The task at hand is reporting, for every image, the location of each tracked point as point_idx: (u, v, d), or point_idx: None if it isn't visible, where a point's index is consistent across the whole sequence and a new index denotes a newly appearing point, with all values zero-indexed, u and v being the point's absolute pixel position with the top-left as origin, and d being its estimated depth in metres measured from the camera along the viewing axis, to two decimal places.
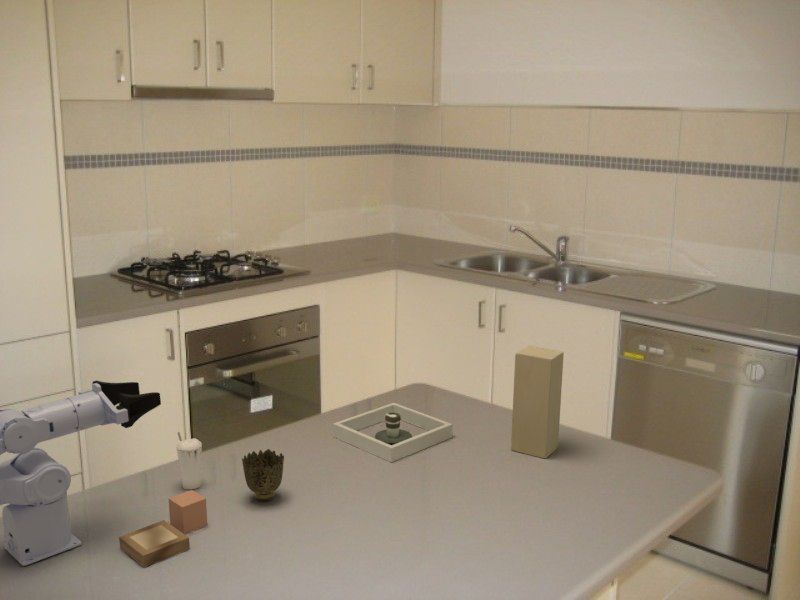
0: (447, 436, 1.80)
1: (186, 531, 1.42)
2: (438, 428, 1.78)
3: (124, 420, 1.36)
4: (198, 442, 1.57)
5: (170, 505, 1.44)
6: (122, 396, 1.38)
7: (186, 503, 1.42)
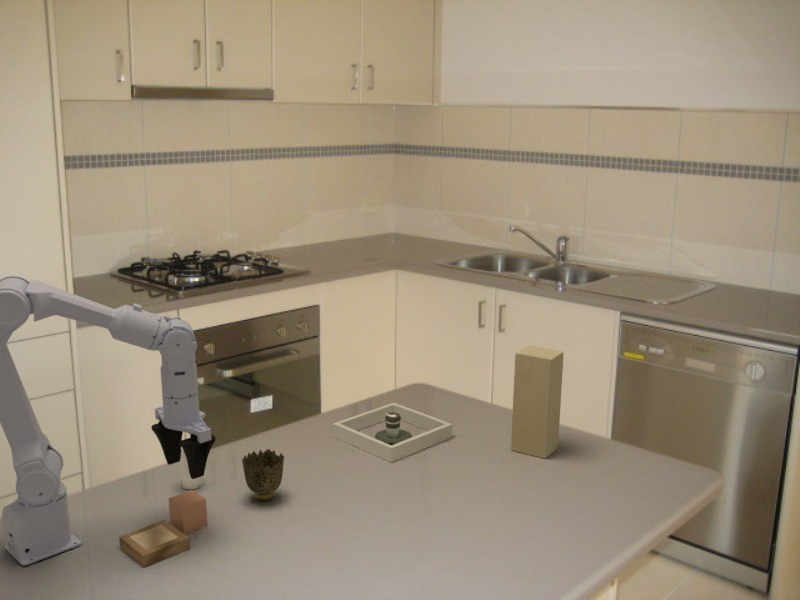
0: (447, 436, 1.80)
1: (186, 531, 1.42)
2: (438, 428, 1.78)
3: (202, 438, 1.35)
4: None
5: (170, 505, 1.44)
6: (212, 435, 1.39)
7: (186, 503, 1.42)
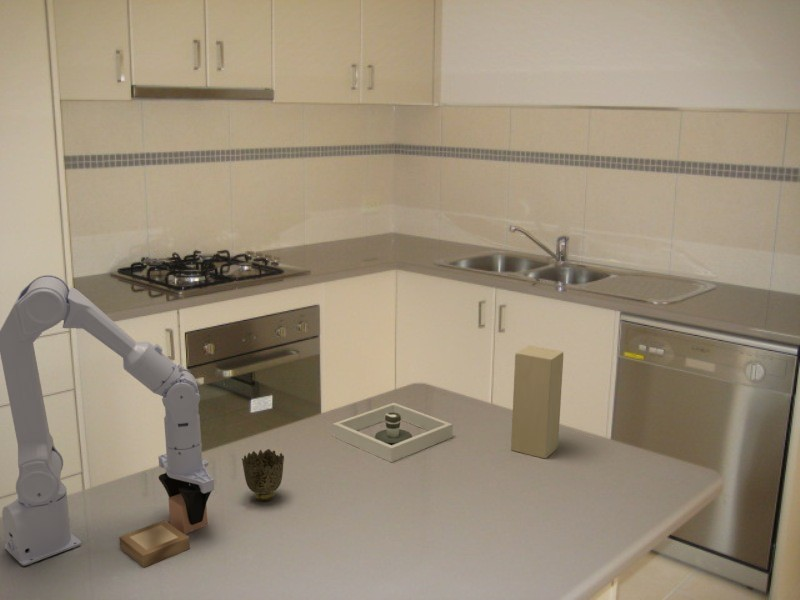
0: (447, 436, 1.80)
1: (186, 531, 1.42)
2: (438, 428, 1.78)
3: (205, 489, 1.37)
4: None
5: (170, 505, 1.44)
6: None
7: None
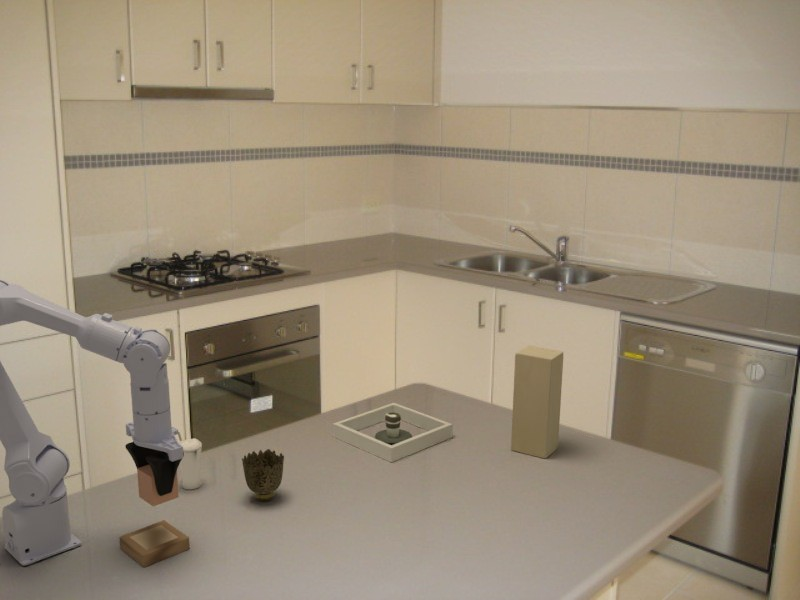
0: (447, 436, 1.80)
1: (155, 503, 1.34)
2: (438, 428, 1.78)
3: (173, 456, 1.29)
4: (198, 442, 1.57)
5: (139, 476, 1.36)
6: None
7: None
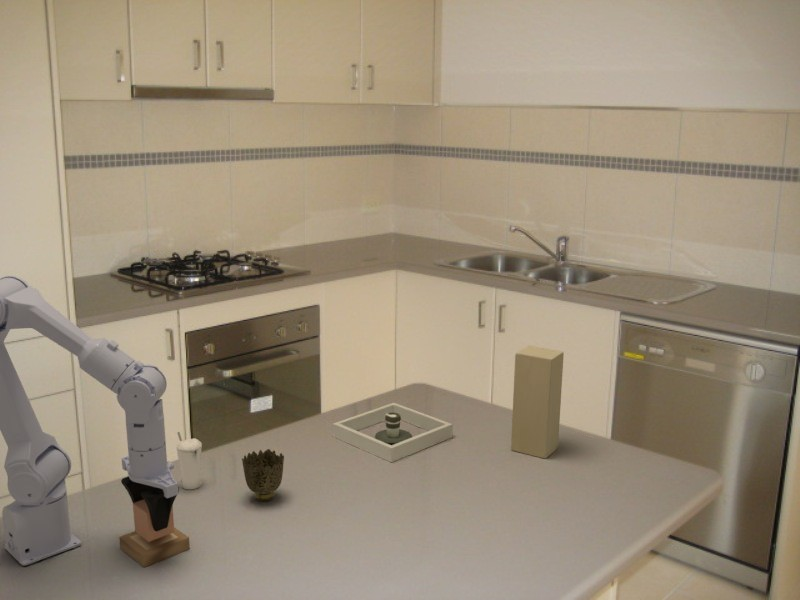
0: (447, 436, 1.80)
1: (151, 538, 1.34)
2: (438, 428, 1.78)
3: (169, 493, 1.29)
4: (198, 442, 1.57)
5: (135, 511, 1.36)
6: None
7: None
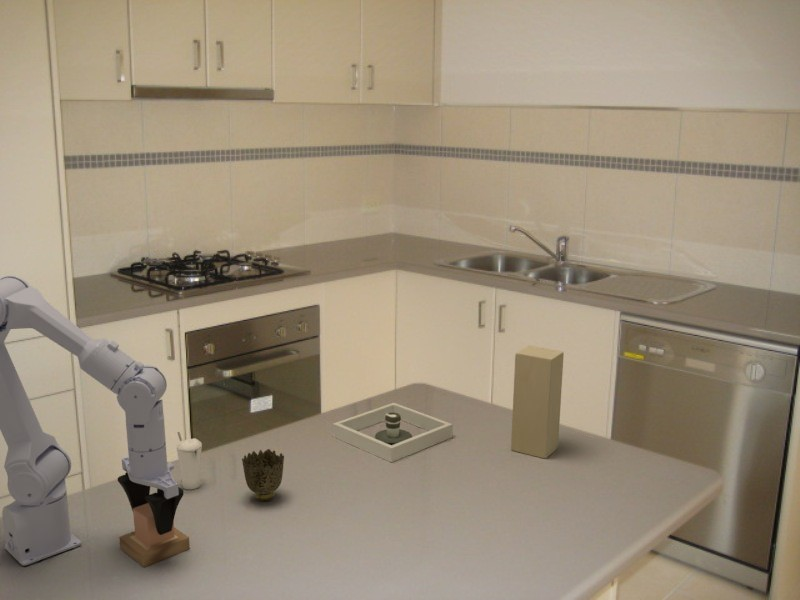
0: (447, 436, 1.80)
1: (151, 543, 1.34)
2: (438, 428, 1.78)
3: (169, 494, 1.29)
4: (198, 442, 1.57)
5: (135, 516, 1.36)
6: (180, 489, 1.33)
7: (152, 513, 1.34)
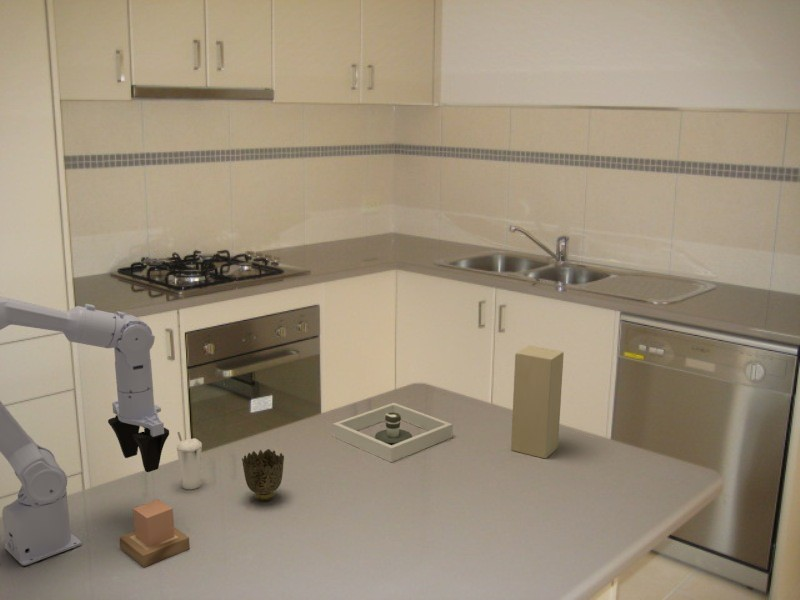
0: (447, 436, 1.80)
1: (151, 543, 1.34)
2: (438, 428, 1.78)
3: (154, 432, 1.37)
4: (198, 442, 1.57)
5: (135, 516, 1.36)
6: (166, 429, 1.41)
7: (152, 513, 1.34)
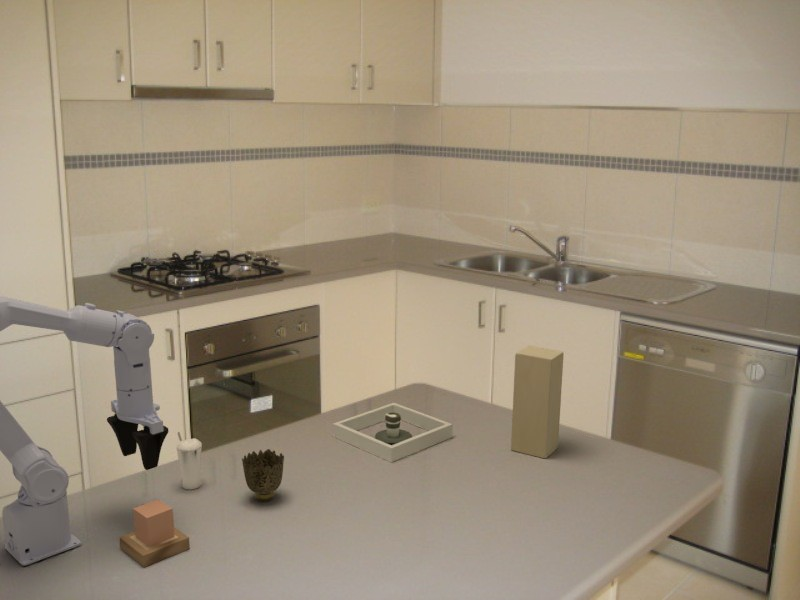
0: (447, 436, 1.80)
1: (151, 543, 1.34)
2: (438, 428, 1.78)
3: (154, 430, 1.38)
4: (198, 442, 1.57)
5: (135, 516, 1.36)
6: (165, 427, 1.42)
7: (152, 513, 1.34)
